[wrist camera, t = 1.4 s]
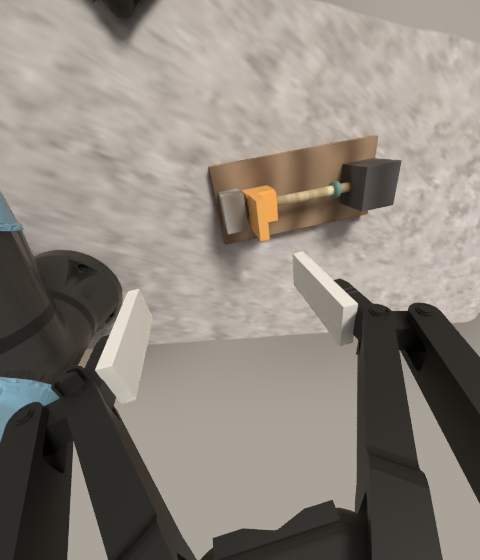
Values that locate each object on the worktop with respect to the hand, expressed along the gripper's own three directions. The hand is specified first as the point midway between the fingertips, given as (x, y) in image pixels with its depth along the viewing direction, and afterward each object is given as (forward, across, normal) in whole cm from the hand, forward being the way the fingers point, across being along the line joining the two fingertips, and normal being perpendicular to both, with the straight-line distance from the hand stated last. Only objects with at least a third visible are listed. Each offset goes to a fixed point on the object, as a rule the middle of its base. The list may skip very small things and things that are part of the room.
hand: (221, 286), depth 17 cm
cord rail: (+24, +15, 0) cm, 28 cm away
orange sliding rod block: (+22, +8, 0) cm, 23 cm away
